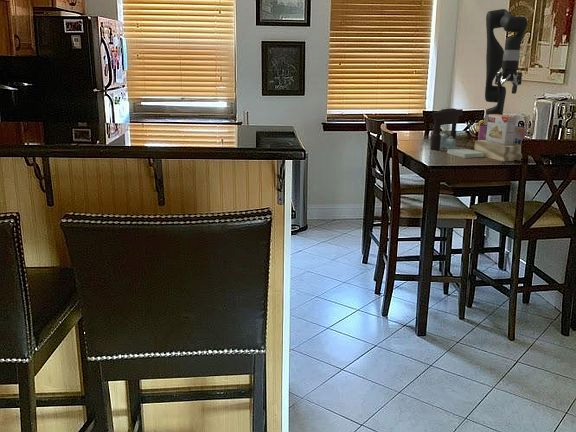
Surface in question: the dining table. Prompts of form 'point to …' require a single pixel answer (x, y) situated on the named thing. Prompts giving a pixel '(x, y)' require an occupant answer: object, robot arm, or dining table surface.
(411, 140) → the dining table surface
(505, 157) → the holder
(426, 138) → the dining table surface
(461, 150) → the plate
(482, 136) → the gum box
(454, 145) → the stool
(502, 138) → the cracker box
